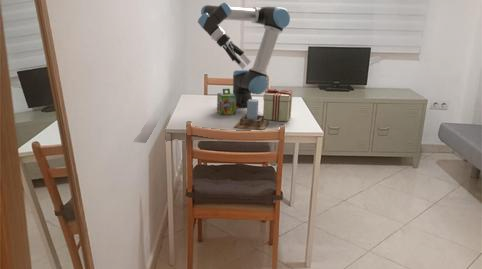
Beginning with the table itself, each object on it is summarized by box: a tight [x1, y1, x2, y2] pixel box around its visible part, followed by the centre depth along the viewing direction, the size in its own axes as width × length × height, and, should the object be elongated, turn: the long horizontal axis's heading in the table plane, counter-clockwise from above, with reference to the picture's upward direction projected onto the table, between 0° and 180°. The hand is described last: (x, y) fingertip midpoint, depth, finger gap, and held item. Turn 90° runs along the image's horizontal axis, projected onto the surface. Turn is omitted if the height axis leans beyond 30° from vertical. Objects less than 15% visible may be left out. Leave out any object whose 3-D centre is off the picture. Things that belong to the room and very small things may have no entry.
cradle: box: [234, 113, 270, 131], centre depth 243 cm, size 16×16×4 cm
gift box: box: [262, 87, 294, 122], centre depth 259 cm, size 17×18×17 cm
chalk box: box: [216, 88, 237, 116], centre depth 265 cm, size 9×9×15 cm
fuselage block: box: [246, 98, 259, 120], centre depth 241 cm, size 5×5×13 cm
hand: (247, 65), depth 247 cm, fingers open, 13 cm apart
